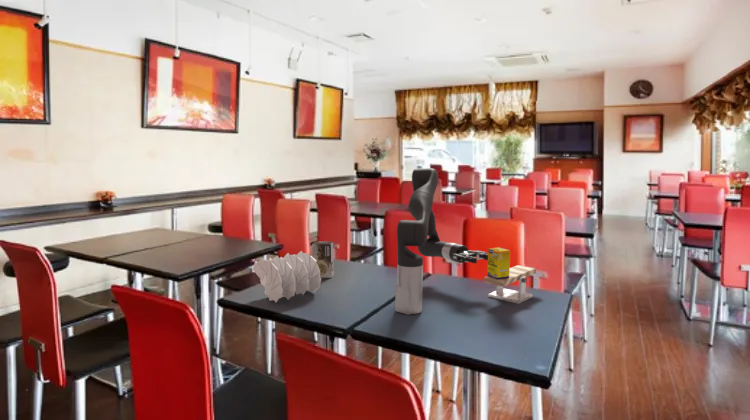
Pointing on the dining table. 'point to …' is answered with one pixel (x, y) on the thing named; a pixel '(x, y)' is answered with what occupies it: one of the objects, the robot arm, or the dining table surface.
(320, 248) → the coffee box
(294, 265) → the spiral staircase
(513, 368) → the dining table surface
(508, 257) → the supplement box
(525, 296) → the beam stand
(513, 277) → the beam
